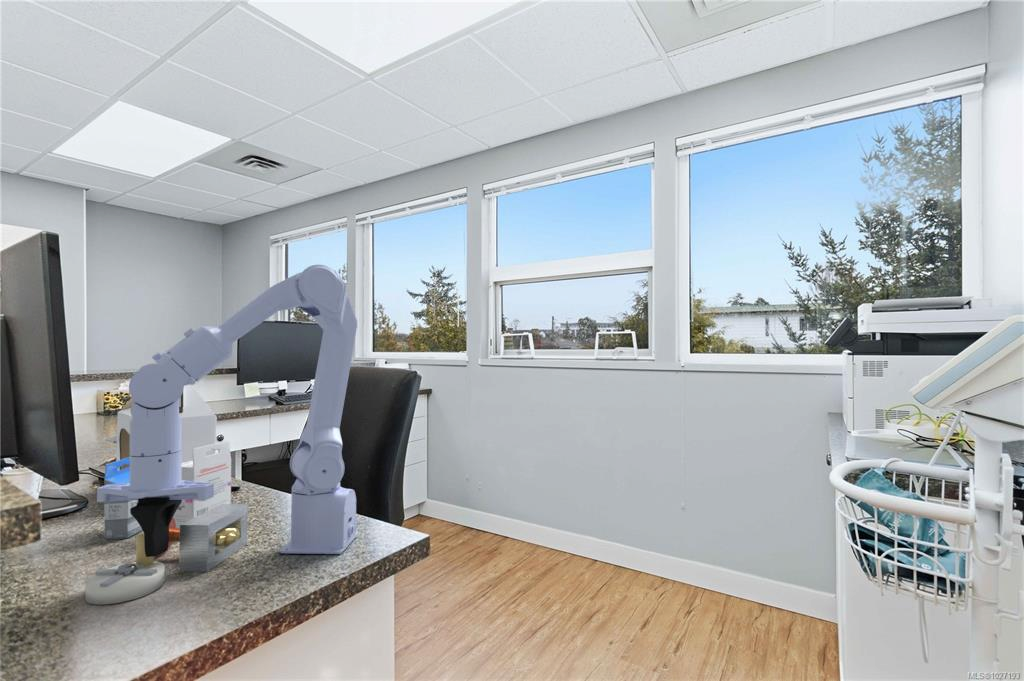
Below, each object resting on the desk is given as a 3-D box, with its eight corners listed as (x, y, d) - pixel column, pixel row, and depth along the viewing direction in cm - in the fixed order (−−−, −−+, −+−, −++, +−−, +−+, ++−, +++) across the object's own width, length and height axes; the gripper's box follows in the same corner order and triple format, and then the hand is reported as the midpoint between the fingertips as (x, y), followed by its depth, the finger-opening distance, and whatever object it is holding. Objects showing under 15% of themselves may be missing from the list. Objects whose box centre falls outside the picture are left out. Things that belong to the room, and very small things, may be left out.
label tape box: (127, 539, 81) (129, 463, 81) (101, 540, 81) (103, 464, 81) (161, 521, 90) (163, 453, 90) (138, 521, 89) (139, 453, 90)
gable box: (215, 496, 106) (218, 365, 107) (140, 510, 96) (144, 366, 97) (183, 478, 121) (186, 364, 121) (114, 489, 111) (118, 364, 112)
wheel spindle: (139, 570, 64) (139, 563, 64) (128, 576, 63) (128, 569, 63) (125, 570, 64) (125, 563, 64) (113, 576, 63) (114, 569, 63)
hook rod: (250, 547, 77) (251, 509, 77) (227, 563, 71) (228, 522, 71) (169, 546, 77) (170, 509, 77) (140, 562, 71) (141, 521, 71)
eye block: (246, 544, 79) (247, 503, 79) (207, 571, 69) (208, 525, 69) (221, 544, 79) (222, 503, 79) (178, 571, 69) (180, 524, 69)
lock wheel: (133, 604, 59) (135, 554, 60) (67, 604, 59) (68, 554, 60) (179, 574, 68) (180, 530, 68) (120, 574, 68) (122, 530, 68)
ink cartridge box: (207, 519, 91) (209, 439, 91) (231, 521, 90) (233, 440, 90) (166, 536, 82) (168, 447, 83) (191, 538, 81) (194, 448, 82)
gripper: (76, 459, 63) (76, 567, 63) (190, 458, 63) (190, 565, 63) (121, 448, 70) (120, 545, 70) (222, 447, 70) (222, 544, 70)
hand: (156, 553), depth 67 cm, fingers closed, pressing on lock wheel
